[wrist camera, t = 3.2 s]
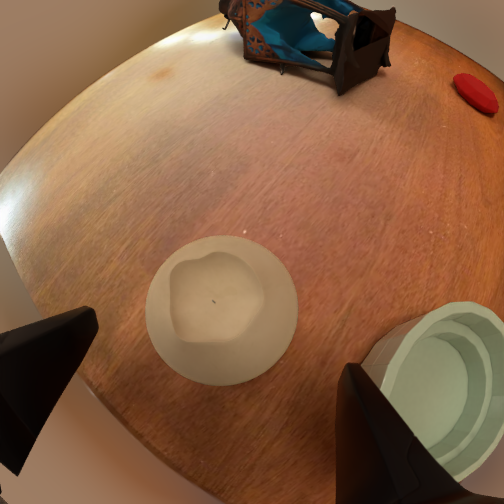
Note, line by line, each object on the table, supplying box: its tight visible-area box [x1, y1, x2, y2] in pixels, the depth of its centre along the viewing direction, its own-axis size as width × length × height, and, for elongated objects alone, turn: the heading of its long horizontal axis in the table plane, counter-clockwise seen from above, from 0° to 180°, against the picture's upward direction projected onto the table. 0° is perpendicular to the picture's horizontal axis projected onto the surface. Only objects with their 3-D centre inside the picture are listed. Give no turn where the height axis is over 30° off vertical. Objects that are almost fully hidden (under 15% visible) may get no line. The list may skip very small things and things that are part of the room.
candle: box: [145, 235, 298, 386], centre depth 13 cm, size 6×6×10 cm
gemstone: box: [453, 73, 499, 113], centre depth 27 cm, size 9×9×3 cm
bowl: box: [361, 301, 504, 482], centre depth 12 cm, size 11×11×5 cm
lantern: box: [219, 0, 396, 96], centre depth 26 cm, size 16×16×25 cm
